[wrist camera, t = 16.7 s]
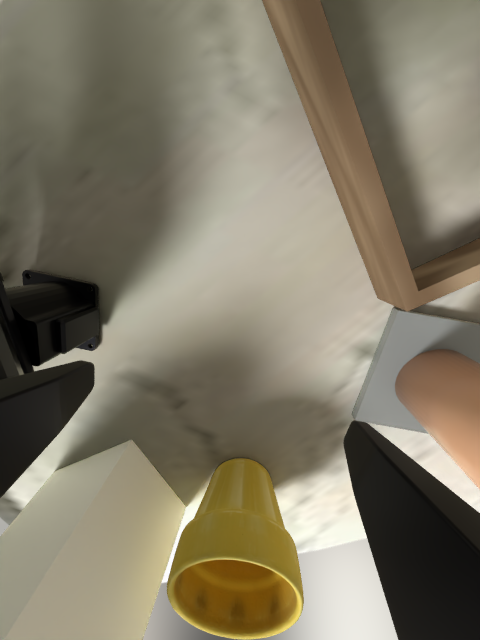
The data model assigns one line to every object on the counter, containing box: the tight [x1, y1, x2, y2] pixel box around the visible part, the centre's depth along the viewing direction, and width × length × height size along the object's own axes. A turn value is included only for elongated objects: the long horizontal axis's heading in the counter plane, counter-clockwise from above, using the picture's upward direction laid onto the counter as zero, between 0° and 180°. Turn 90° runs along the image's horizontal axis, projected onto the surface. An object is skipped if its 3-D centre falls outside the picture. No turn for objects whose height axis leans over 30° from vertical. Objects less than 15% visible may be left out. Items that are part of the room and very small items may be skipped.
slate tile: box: [352, 308, 480, 434], centre depth 21 cm, size 11×11×1 cm
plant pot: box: [167, 458, 304, 639], centre depth 22 cm, size 10×10×10 cm
